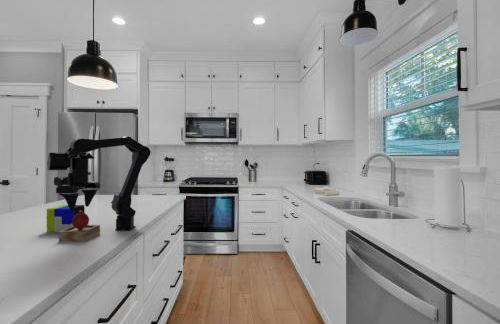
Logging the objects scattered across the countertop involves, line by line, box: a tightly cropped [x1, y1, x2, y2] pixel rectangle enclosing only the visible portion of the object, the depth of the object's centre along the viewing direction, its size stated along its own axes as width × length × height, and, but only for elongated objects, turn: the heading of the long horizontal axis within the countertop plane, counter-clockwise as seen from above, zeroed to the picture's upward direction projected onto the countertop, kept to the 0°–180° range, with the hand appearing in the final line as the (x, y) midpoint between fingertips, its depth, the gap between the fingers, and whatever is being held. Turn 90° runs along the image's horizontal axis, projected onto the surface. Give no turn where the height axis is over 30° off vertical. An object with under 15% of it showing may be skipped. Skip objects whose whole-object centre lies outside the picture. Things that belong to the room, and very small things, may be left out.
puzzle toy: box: [46, 204, 86, 233], centre depth 117 cm, size 10×10×10 cm
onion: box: [72, 210, 90, 230], centre depth 104 cm, size 6×6×8 cm
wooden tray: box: [58, 224, 101, 242], centre depth 104 cm, size 10×10×4 cm
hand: (79, 208), depth 103 cm, fingers open, 9 cm apart
